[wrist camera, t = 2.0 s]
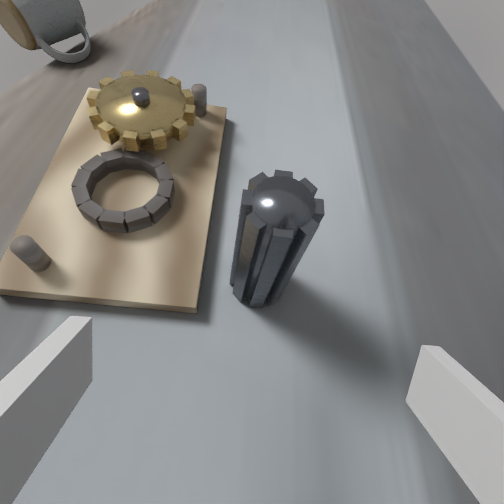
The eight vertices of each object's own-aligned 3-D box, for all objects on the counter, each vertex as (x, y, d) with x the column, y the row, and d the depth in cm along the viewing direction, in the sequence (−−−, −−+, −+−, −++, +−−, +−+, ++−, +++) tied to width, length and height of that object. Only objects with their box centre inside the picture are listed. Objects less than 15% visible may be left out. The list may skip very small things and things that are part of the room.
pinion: (283, 261, 31) (322, 174, 20) (282, 310, 28) (326, 240, 18) (232, 255, 30) (245, 164, 20) (227, 304, 28) (239, 230, 17)
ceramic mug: (2, 39, 42) (-37, -35, 35) (56, 17, 45) (30, -54, 39) (58, 77, 40) (29, 6, 33) (110, 51, 43) (93, -17, 37)
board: (225, 118, 39) (227, 84, 35) (196, 313, 27) (194, 294, 23) (92, 99, 38) (79, 61, 34) (-2, 294, 26) (-39, 270, 22)
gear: (201, 107, 38) (201, 69, 34) (188, 172, 32) (185, 136, 28) (112, 94, 37) (100, 53, 33) (83, 159, 32) (65, 120, 28)
